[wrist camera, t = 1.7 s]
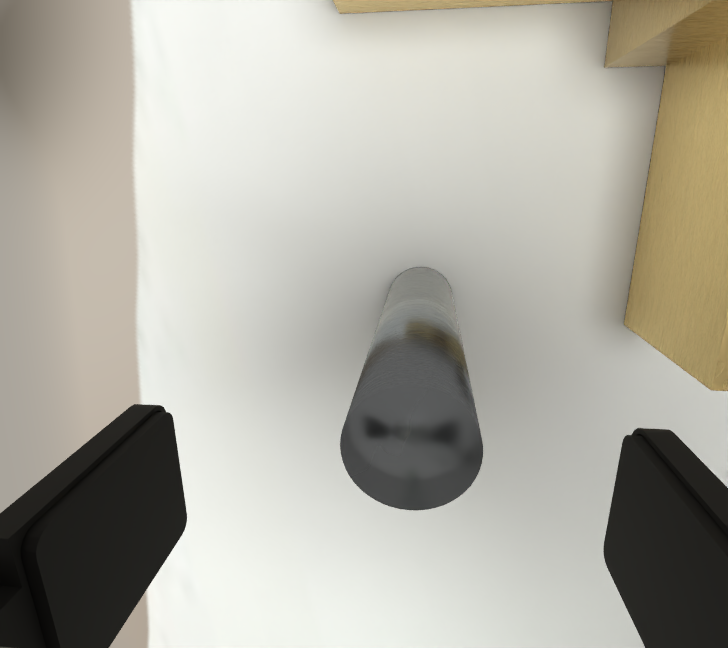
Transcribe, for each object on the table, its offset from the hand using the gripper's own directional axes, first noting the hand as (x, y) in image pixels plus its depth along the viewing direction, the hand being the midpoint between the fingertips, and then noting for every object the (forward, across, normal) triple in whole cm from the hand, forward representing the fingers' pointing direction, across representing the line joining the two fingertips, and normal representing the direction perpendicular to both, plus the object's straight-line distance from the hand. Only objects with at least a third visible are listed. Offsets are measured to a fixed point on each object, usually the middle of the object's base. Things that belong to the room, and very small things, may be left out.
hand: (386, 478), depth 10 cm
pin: (+17, -1, 0) cm, 17 cm away
